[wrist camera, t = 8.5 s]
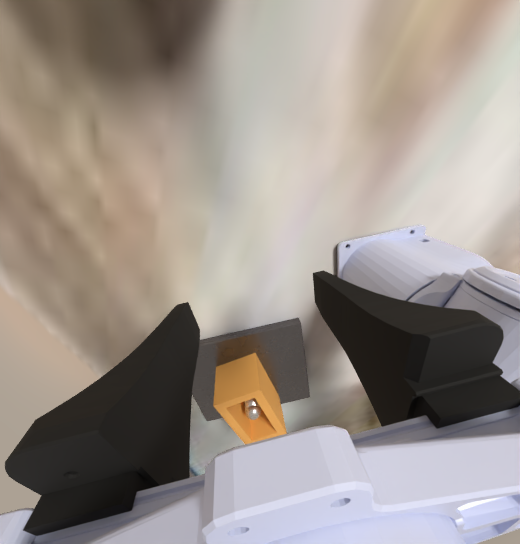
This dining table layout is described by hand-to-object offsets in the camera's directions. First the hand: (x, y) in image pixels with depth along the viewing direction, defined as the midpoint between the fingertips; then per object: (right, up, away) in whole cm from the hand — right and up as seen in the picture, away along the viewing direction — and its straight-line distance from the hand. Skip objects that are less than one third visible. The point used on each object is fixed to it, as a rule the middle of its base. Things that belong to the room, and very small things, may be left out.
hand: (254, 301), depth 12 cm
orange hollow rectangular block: (-1, -14, +17) cm, 22 cm away
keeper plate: (-1, -12, +18) cm, 22 cm away
